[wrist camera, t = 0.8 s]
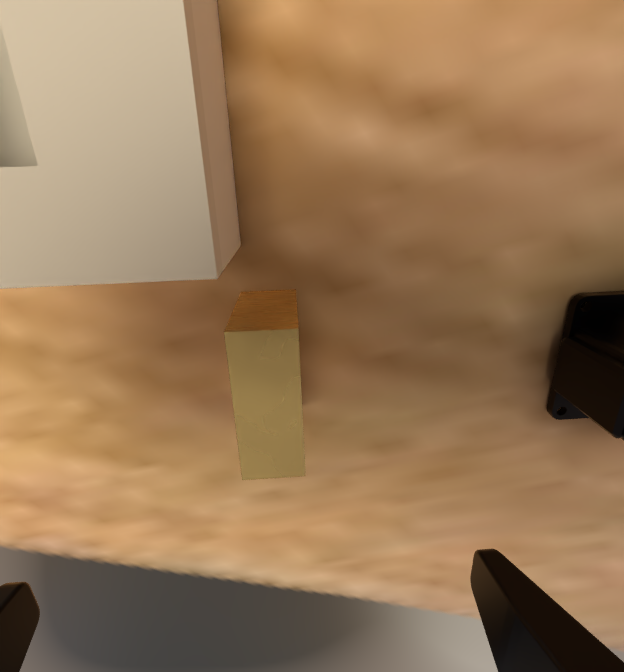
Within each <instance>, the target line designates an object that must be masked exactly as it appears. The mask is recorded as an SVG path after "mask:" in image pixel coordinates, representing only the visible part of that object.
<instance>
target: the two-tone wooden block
mask: <svg viewBox="0 0 624 672" xmlns="http://www.w3.org/2000/svg"><path fill="white" fill-rule="evenodd" d="M224 337H225V345H226V353H227V361H228V369H229V377H230V385H231V394H232V402H233V410H234V418H235V426H236V434H237V442H238V450H239V458H240V467H241V475H242V480H252V479H268V478H283V477H299V476H305V455H304V434H303V413H302V393H301V372H300V351H299V330H298V315H297V300H296V289H293V290H272V291H250V292H241V293H240V296H239V298H238V300H237V303H236V305H235V307H234V310H233V312H232V315H231V317H230V319H229V322H228V324H227V326H226V329H225V331H224Z"/></svg>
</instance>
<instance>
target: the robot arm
mask: <svg viewBox="0 0 624 672" xmlns="http://www.w3.org/2000/svg"><path fill="white" fill-rule="evenodd" d="M584 302H586V304H585V306H584V307H583V308H582V309H581V305H582V304H583V303H584ZM560 407H561V409H560V410H558V409H559V408H560ZM557 410H558V411H557ZM547 411H548V413H549V414H550V415H551V416H552V417H553V418H555V419H559V420H562V419H578V418H590V419H592V420H593V421H594V422H595V423H597V424H598V425H599V426H600V427H602V428H603V429H604V430H606V431H607V432H608V433H609V434H611V435H612V436H613V437H615V438H622V439H623V440H624V292H603V293H583V294H578V295H577V296H575V297H574V298H573V299H572V300H571V303H570V305H569V310H568V314H567V319H566V324H565V328H564V333H563V337H562V342H561V345H560V350H559V354H558V359H557V363H556V368H555V373H554V377H553V382H552V388H551V392H550V397H549V402H548V406H547ZM470 579H471V587H472V591H473V594H474V598H475V601H476V604H477V607H478V610H479V613H480V616H481V619H482V623H483V626H484V629H485V632H486V635H487V638H488V641H489V645H490V648H491V651H492V654H493V657H494V660H495V663H496V666H497V669H498V672H624V662H623V661H622V660H620V659H619V658H618V657H617V656H616V655H615V654H614V653H613V652H611V651H610V650H609V649H608V648H607V647H606V646H605V645H604V644H602V643H601V642H600V641H599V640H598V639H597V638H596V637H595V636H593V635H592V634H591V633H590V632H589V631H588V630H587V629H586V628H584V627H583V626H582V625H581V624H580V623H579V622H578V621H577V620H575V619H574V618H573V617H572V616H571V615H570V614H569V613H568V612H566V611H565V610H564V609H563V608H562V607H561V606H560V605H559V604H557V603H556V602H555V601H554V600H553V599H552V598H551V597H550V596H548V595H547V594H546V593H545V592H544V591H543V590H542V589H541V588H539V587H538V586H537V585H536V584H535V583H534V582H533V581H532V580H531V579H529V578H528V577H527V576H526V575H525V574H524V573H523V572H522V571H520V570H519V569H518V568H517V567H516V566H515V565H514V564H513V563H511V562H510V561H509V560H508V559H507V558H506V557H505V556H504V555H502V554H501V553H500V552H499V551H497V550H495V549H482V550H477V551H476V552H475V554H474V558H473V565H472V571H471V578H470ZM39 615H40V609H39V606H38V603H37V601H36V599H35V596H34V594H33V592H32V589H31V587H30V586H29V584H28V583H26V582H15V583H6V584H3V585H2V586H0V672H19V671H20V669H21V666H22V663H23V661H24V658H25V656H26V653H27V650H28V648H29V645H30V642H31V640H32V637H33V635H34V632H35V629H36V627H37V624H38V621H39Z"/></svg>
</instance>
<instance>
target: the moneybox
mask: <svg viewBox="0 0 624 672" xmlns="http://www.w3.org/2000/svg"><path fill="white" fill-rule="evenodd" d="M240 246H241V240H240V230H239V219H238V209H237V199H236V189H235V178H234V168H233V158H232V148H231V137H230V127H229V117H228V107H227V96H226V86H225V76H224V66H223V55H222V45H221V35H220V24H219V14H218V4H217V0H0V289H4V288H26V287H49V286H71V285H93V284H115V283H138V282H160V281H182V280H204V279H218V277H219V276H220V275H221V273H222V272H223V270H224V269H225V268H226V266H227V265H228V263H229V262H230V261H231V259H232V258H233V256H234V255H235V254H236V252H237V251H238V249H239V248H240Z"/></svg>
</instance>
